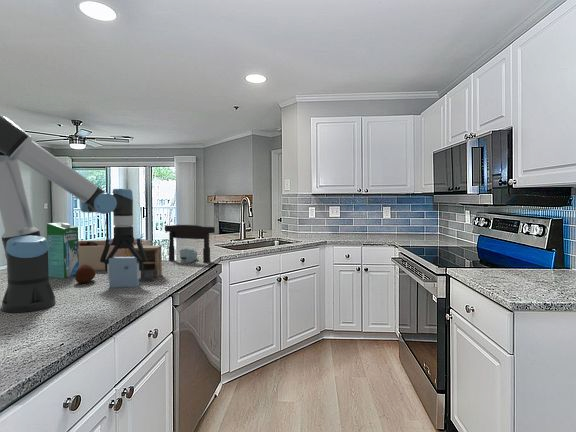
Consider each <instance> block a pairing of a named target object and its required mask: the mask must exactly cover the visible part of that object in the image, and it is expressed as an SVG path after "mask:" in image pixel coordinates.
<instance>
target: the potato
mask: <svg viewBox="0 0 576 432" xmlns="http://www.w3.org/2000/svg"><path fill="white" fill-rule="evenodd" d="M95 276H96V270H94V268H93V267H92V266H90V265H86V264H85V265H82V266H80V267H79V268H78V270H77V271H76V273H75V276H74V280H75V281H76V282H77V283H78V284H85V283H88V282H91V281H92V280H94V278H95Z"/></svg>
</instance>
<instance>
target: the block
mask: <svg viewBox="0 0 576 432" xmlns="http://www.w3.org/2000/svg"><path fill="white" fill-rule="evenodd" d="M137 263H139V262H138V261H137V258H135V257H112V258H109V282H108V284H109V287H108V288H131V287H133V288H138V287H139V286H140V281H139V279H137Z"/></svg>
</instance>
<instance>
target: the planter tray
mask: <svg viewBox="0 0 576 432" xmlns="http://www.w3.org/2000/svg"><path fill="white" fill-rule="evenodd" d="M105 240H106V239H105ZM105 240H78V253H79V267H80V266H82V265H85V264H86V265H90V266H92V267H93V268H94V270H95V271H97V270H98V271H99V270H101V271H102V270H104V271H105V263H103V262H100V259H101V256H102V253H103V250H104V248H105V244H106V242H105ZM87 241H88V242H94V243H97V244H98V246H80V244H81V243H84V244H85V242H86V243H87ZM132 245H133V246H137V244H136V243H135V241H134V242H133V244H132ZM142 246H150V240H149V239H142ZM113 248H114V246H110V248H109V251H108V253H107V256H106V259H107V257H108V256H109V254H110V253H111V251H112V250H113ZM113 257H124V248H122V249H118V250H117V251H116V253H115V254H114V256H113ZM127 257H128V248H127Z"/></svg>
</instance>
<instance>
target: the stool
mask: <svg viewBox="0 0 576 432" xmlns="http://www.w3.org/2000/svg"><path fill="white" fill-rule="evenodd" d="M215 230H216V229H215V226H202V225H197V224H173V225H164V231H165V232H167V233H169V234H168V235H169V239H168V241H169V245H168V261H172V262H173V261H175V258H176V257H175V256H176V255H175V254H176V253H175V246H174V245H175V242H174V241H175V240H174V239H189V240H203V248H202V250H203V253H202V256H203V257H202V259H203V260H202V261H203V263H209V262H211V247H210V234H214V233H215ZM179 258H180V263H181V264H187V263H189V264H190V263H191V262H192V263H193V262H195V261H196V262H197V261H198V260H199V259H198V252H197V251H196V250H195V249H194V248H190V247H188V248H183V249H180V250H179Z"/></svg>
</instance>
